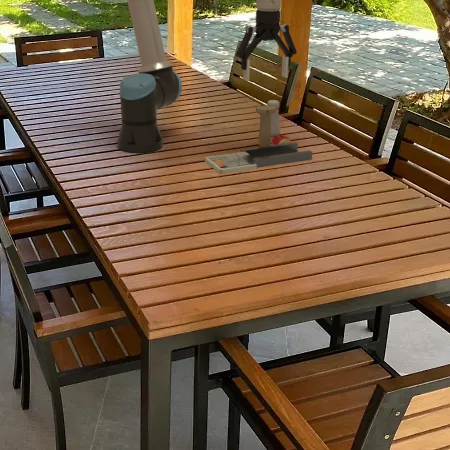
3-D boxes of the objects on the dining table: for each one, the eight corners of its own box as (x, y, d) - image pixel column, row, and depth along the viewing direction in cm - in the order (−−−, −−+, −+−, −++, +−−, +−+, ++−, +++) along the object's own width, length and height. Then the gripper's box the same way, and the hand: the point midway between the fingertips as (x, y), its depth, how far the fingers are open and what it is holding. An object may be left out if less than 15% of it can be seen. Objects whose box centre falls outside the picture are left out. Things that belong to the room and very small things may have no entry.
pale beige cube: (239, 166, 222) (239, 156, 221) (234, 163, 225) (234, 152, 224) (249, 165, 224) (249, 154, 222) (244, 162, 227) (244, 151, 225)
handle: (275, 153, 236) (277, 108, 230) (257, 154, 235) (258, 110, 229) (271, 149, 240) (273, 105, 234) (253, 150, 239) (254, 106, 233)
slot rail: (255, 170, 221) (255, 159, 219) (240, 160, 230) (240, 149, 229) (311, 162, 228) (312, 151, 227) (295, 152, 237) (295, 142, 236)
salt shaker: (275, 140, 249) (276, 103, 244) (261, 137, 252) (262, 101, 247) (283, 136, 254) (284, 100, 249) (268, 133, 257) (270, 97, 252)
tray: (220, 176, 215) (220, 170, 215) (204, 163, 226) (204, 157, 225) (256, 171, 220) (256, 164, 219) (238, 159, 231) (238, 152, 230)
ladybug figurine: (278, 152, 238) (278, 141, 237) (266, 143, 247) (266, 133, 245) (296, 149, 241) (297, 139, 239) (283, 141, 249) (283, 131, 248)
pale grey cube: (228, 169, 220) (228, 158, 219) (223, 165, 223) (223, 155, 222) (238, 167, 222) (238, 156, 220) (233, 164, 225) (233, 153, 223)
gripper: (236, 12, 211) (234, 84, 220) (310, 9, 221) (305, 77, 229) (226, 9, 218) (224, 78, 226) (298, 6, 227) (294, 73, 236)
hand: (265, 78), depth 228 cm, fingers open, 13 cm apart
